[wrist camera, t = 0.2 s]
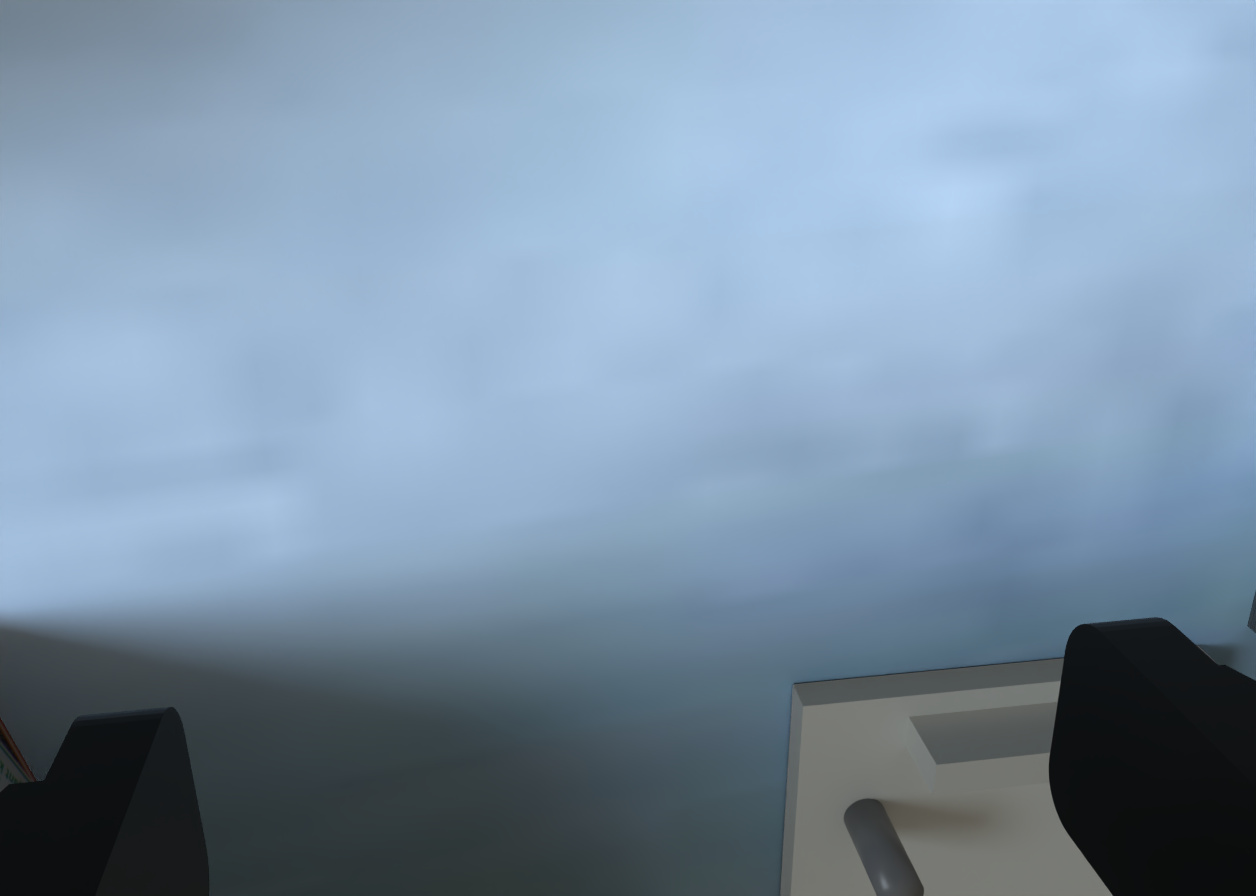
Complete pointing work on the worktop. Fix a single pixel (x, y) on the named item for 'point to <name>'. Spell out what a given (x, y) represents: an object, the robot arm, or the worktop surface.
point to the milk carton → (11, 761)
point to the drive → (1253, 616)
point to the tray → (929, 787)
